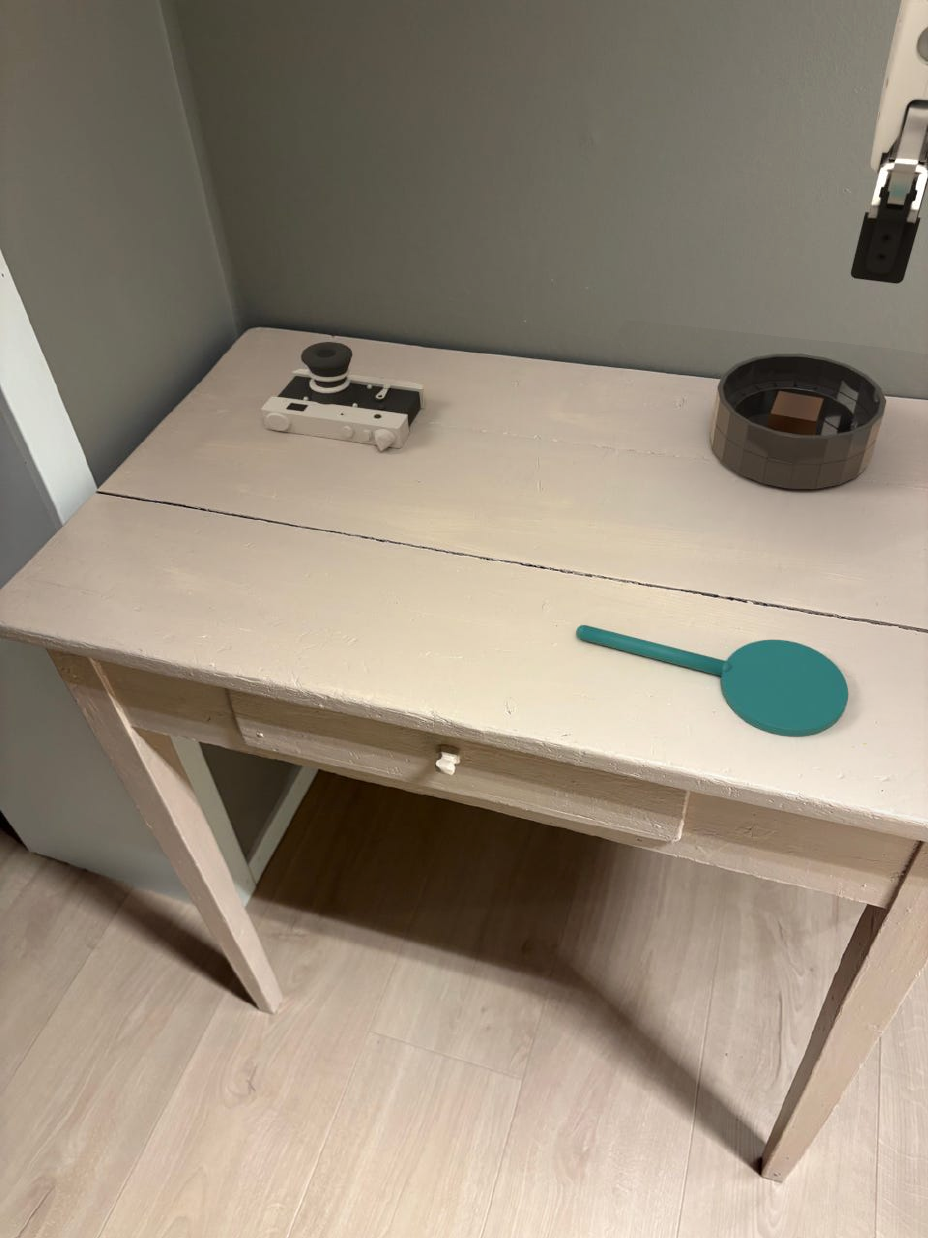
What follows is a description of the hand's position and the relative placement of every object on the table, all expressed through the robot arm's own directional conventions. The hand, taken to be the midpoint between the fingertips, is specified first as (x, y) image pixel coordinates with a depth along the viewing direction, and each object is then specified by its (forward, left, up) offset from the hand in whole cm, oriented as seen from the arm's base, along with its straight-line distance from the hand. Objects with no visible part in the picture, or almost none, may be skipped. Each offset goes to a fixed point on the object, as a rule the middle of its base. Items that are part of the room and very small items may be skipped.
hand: (884, 248), depth 65 cm
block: (+4, -15, -26) cm, 30 cm away
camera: (+48, -5, -26) cm, 55 cm away
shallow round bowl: (+4, -15, -26) cm, 31 cm away
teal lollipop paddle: (+5, +17, -26) cm, 32 cm away
